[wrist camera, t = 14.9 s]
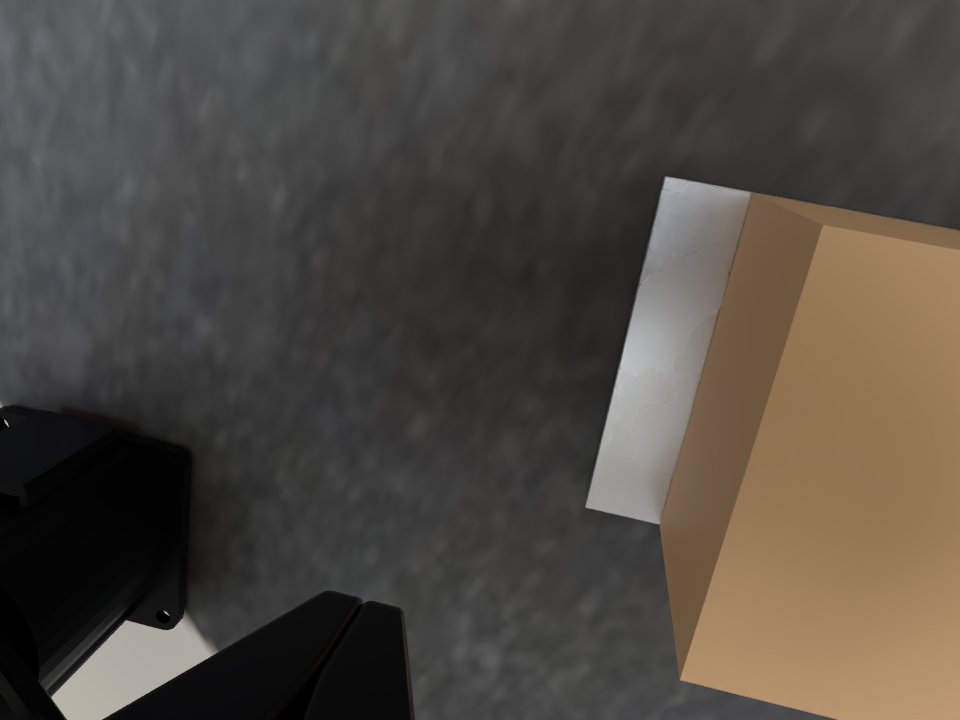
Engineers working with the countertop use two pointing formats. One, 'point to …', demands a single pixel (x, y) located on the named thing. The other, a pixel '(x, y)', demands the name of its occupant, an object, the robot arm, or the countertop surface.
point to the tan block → (825, 472)
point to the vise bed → (668, 344)
